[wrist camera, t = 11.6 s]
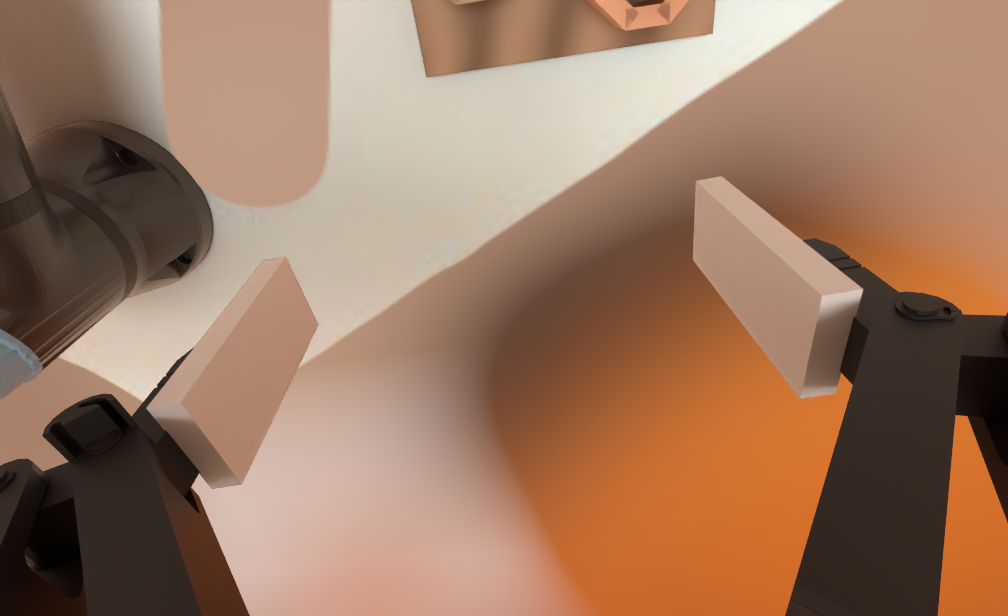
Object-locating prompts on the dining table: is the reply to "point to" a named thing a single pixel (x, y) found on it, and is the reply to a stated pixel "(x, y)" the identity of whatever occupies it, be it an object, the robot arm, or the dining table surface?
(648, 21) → the bead rust
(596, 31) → the lacing board
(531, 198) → the dining table surface
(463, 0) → the bead beech
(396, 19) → the dining table surface
